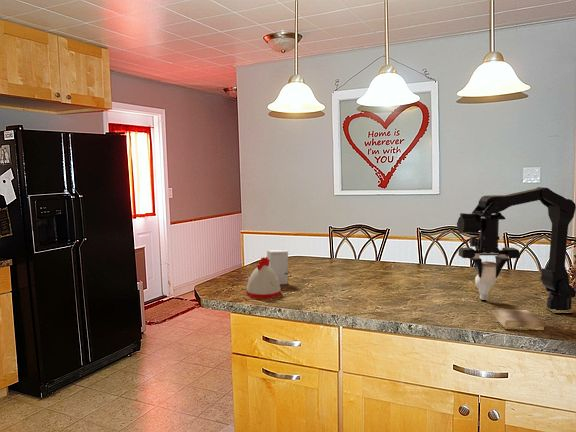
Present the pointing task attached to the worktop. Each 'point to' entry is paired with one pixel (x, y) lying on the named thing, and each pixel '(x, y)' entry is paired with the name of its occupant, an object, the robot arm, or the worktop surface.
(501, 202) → the robot arm
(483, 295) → the lightbulb
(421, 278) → the worktop surface
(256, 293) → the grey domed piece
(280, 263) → the skincare box
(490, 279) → the spice tin
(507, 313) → the block
